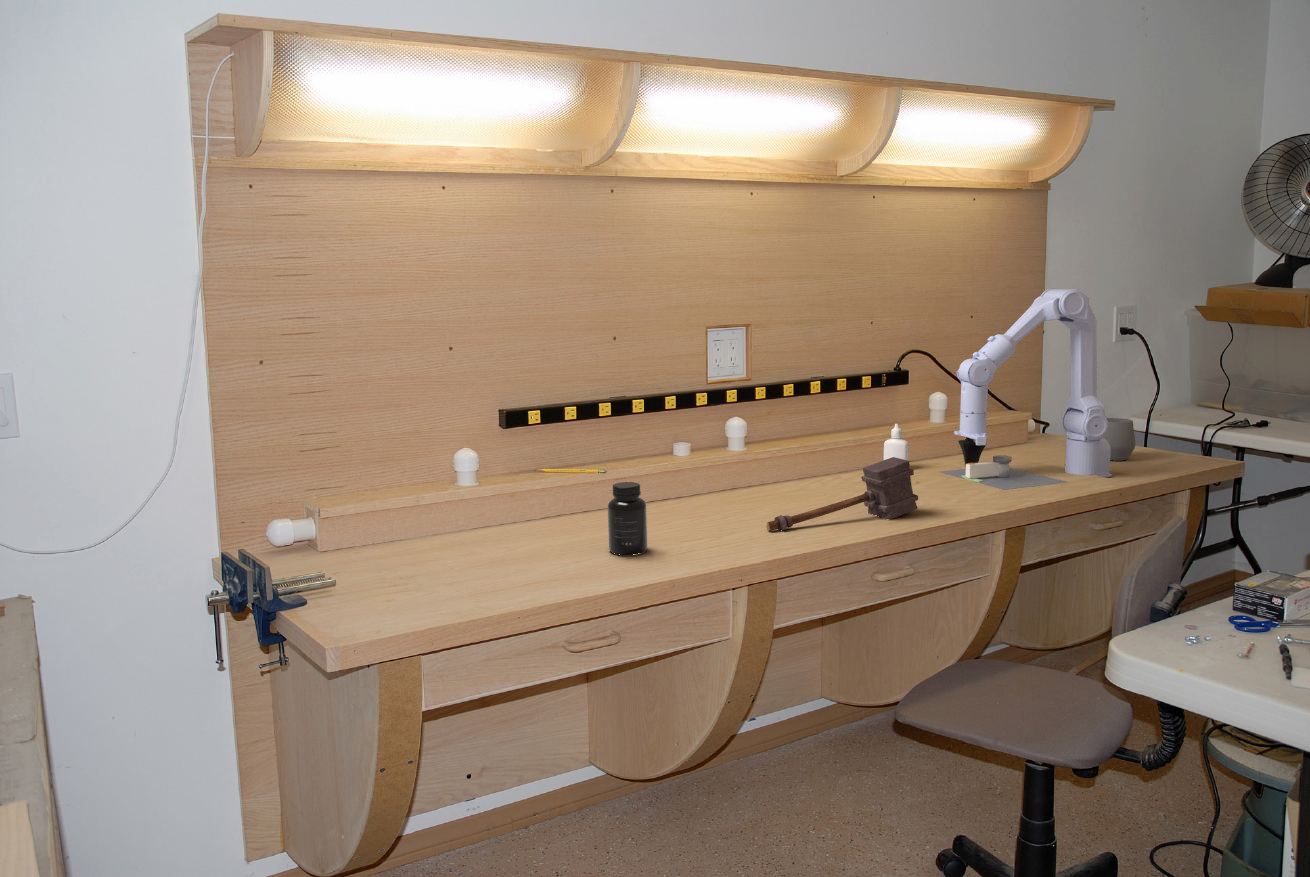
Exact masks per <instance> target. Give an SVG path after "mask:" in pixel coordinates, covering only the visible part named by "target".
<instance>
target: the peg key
mask: <svg viewBox="0 0 1310 877" xmlns="http://www.w3.org/2000/svg"><path fill="white" fill-rule="evenodd" d="M1012 461H1013V460H1012V456H1011V455H1006V454H1005V455H1004V454H1003V455H1002V454H1000V455H999V454H997V455H993V456H992V461H986V462H984V461H983V462H978V463H968V464H966V468H965V469H966V476H965V477H968V478H977V477H989V476H995V477H1001V478H1006V477H1009V468H1010V463H1012Z"/></svg>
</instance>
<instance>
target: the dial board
mask: <svg viewBox="0 0 1310 877" xmlns="http://www.w3.org/2000/svg"><path fill="white" fill-rule="evenodd" d="M939 473H941V474H945V475H949V476H951V477H955V478H960V479H963V480H967V481H970V482H974V483H978V484H981V485H984V486H988V487H992V488H995V489H998V490H1003V491H1006V490H1007V491H1009V490H1017V489H1024V488H1033V487H1040V486H1047V485H1048V486H1049V485H1056V484H1064V483H1065V484H1066V483H1068V481H1066V480H1062V479H1058V478H1054V477H1049V476H1045V475H1041V474H1037V473H1034V472H1030V471H1029V472H1028V471H1027V470H1026V471H1025V470H1022V469H1021V470H1020V469H1018V468H1013V467H1009V477H1006V478H1001V477H995V476H989V477H977V478H968V477H965V476H966V468H960V469H950V470H942V471H939Z"/></svg>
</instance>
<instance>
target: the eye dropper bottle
mask: <svg viewBox="0 0 1310 877" xmlns="http://www.w3.org/2000/svg"><path fill="white" fill-rule="evenodd" d="M902 434H903V430H902V429H901V428H900V426H899V423H894V427H893V428H892V429H891V432H890V436H891V438H889V439H886V440H885V441H884V443H883V460H886V459H889V458H892V457H895V458H900V459H904V460H908V461H909V442H908V441H907V440H905V439H902V437H903V436H902Z"/></svg>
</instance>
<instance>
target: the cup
mask: <svg viewBox="0 0 1310 877" xmlns="http://www.w3.org/2000/svg"><path fill="white" fill-rule="evenodd" d="M1106 418H1107V420H1108V429H1107V431H1106V433H1105V434H1104V435H1103V436H1102V438H1104V439H1106V440H1107V441H1108V443H1109V445H1110V449H1111V454H1110V460H1113V461H1112V462H1121V461H1126V460H1128V459H1129V458H1130V456H1131V455H1132V453H1133V452H1134V450H1135V448H1136V436H1135V428H1134V427H1135V426H1134V420H1132V419H1128V418H1119V417H1106Z"/></svg>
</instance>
